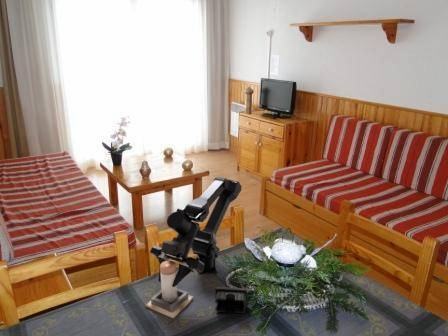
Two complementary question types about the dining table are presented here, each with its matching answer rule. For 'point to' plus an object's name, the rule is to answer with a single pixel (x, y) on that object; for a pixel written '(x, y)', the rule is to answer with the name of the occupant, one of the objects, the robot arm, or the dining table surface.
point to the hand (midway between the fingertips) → (166, 284)
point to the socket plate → (168, 308)
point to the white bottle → (168, 281)
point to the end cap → (230, 301)
